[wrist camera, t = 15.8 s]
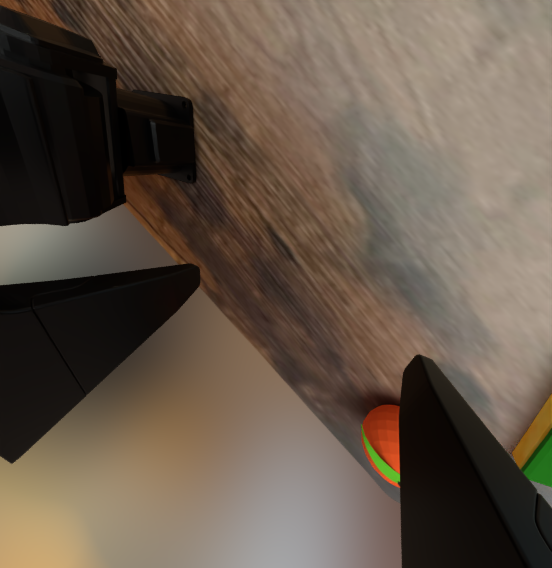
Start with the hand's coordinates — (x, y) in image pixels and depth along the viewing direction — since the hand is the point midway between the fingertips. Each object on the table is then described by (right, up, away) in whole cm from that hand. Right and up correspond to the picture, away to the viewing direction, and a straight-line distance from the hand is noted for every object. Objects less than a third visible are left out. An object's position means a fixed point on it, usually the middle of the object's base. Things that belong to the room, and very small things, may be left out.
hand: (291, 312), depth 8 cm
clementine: (+13, -13, +17) cm, 25 cm away
